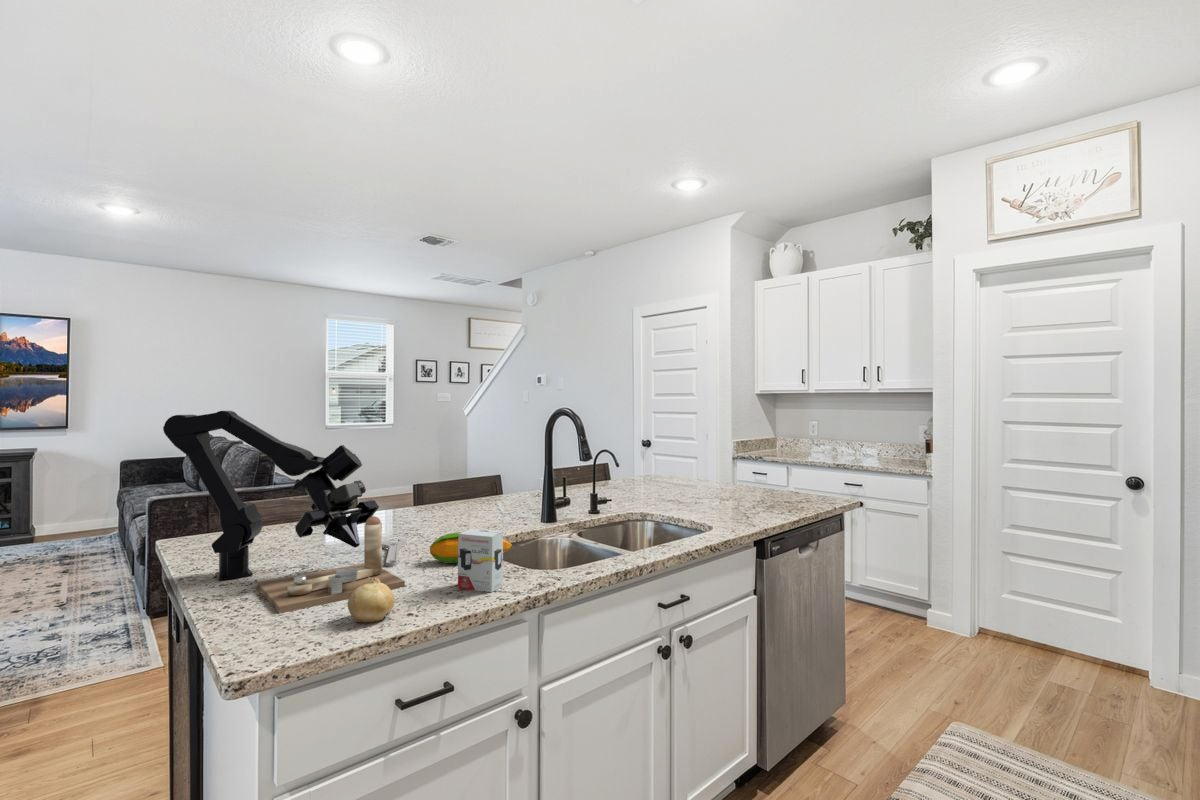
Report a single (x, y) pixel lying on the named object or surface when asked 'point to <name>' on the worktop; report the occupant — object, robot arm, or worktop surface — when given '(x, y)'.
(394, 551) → the adjustable wrench
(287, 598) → the walnut board
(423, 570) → the worktop surface
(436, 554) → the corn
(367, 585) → the onion
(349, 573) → the keeper
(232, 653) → the worktop surface
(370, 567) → the wooden crank lever
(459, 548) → the ink box
